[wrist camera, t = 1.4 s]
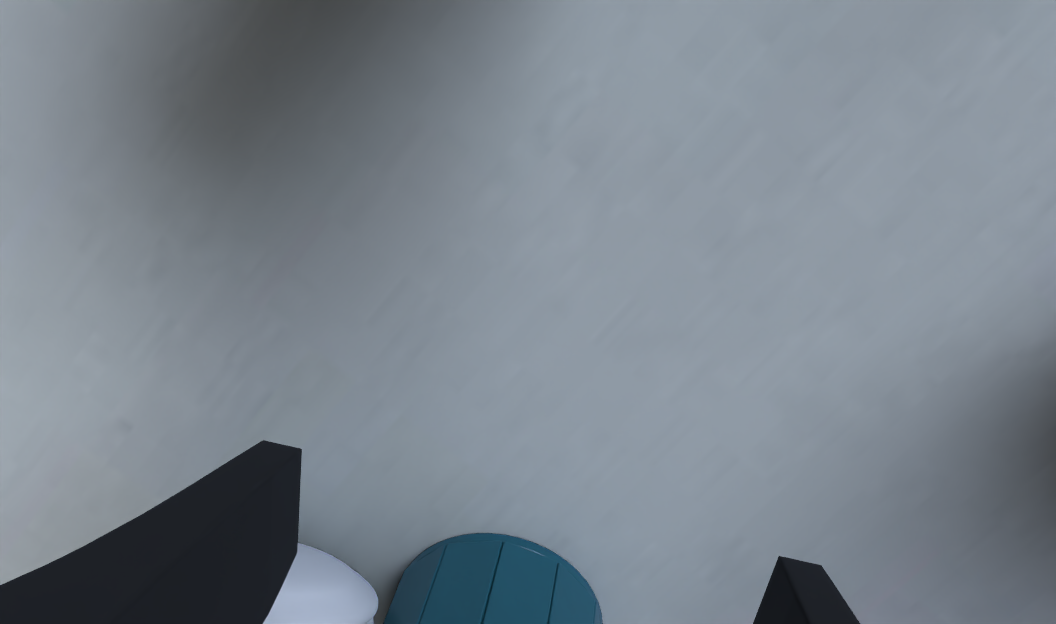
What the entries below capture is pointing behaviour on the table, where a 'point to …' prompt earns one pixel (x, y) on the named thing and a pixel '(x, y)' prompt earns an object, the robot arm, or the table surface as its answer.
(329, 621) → the headphones
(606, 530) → the table surface
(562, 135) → the table surface
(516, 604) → the pot
